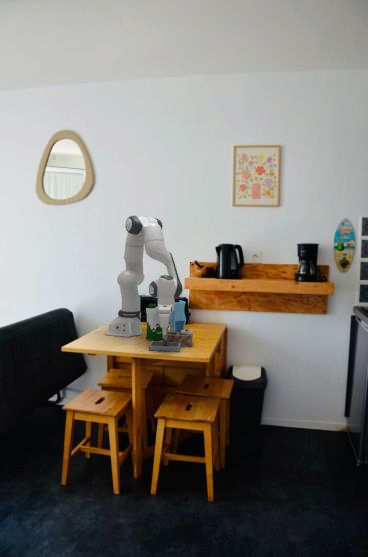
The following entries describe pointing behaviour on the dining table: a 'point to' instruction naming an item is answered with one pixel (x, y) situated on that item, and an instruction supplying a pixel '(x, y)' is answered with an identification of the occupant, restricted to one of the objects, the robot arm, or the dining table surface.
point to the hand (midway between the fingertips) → (165, 332)
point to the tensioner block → (181, 337)
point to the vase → (178, 317)
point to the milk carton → (153, 324)
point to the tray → (170, 348)
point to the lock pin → (165, 338)
